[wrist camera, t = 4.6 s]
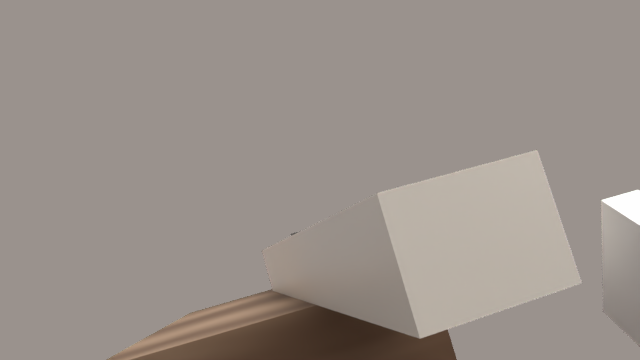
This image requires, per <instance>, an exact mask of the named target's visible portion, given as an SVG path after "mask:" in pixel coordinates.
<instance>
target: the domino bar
mask: <svg viewBox="0 0 640 360" xmlns="http://www.w3.org/2000/svg"><path fill="white" fill-rule="evenodd" d="M262 252H263V256H264V260H265V264H266V268H267V271H268V275H269V279H270V283H271V287H272V290H273V291H275V292H278V293H281V294H284V295H287V296H290V297H293V298H296V299H300V300H303V301H306V302H309V303H312V304H315V305H318V306H321V307H324V308H327V309H330V310H333V311H336V312H339V313H342V314H346V315H349V316H352V317H355V318H358V319H361V320H364V321H367V322H370V323H373V324H376V325H379V326H382V327H385V328H389V329H392V330H395V331H398V332H401V333H404V334H407V335H410V336H413V337H416V338H419V339H421V338H424V337H427V336H430V335H433V334H435V333H438V332H441V331H444V330H447V329H450V328H453V327H456V326H459V325H462V324H465V323H467V322H470V321H473V320H476V319H479V318H482V317H485V316H488V315H491V314H494V313H497V312H499V311H502V310H505V309H508V308H511V307H514V306H517V305H520V304H522V303H526V302H529V301H531V300H534V299H537V298H540V297H543V296H546V295H549V294H552V293H555V292H558V291H561V290H563V289H566V288H569V287H572V286H575V285H578V284H581V283H582V281H581V278H580V275H579V272H578V270H577V267H576V264H575V261H574V258H573V255H572V252H571V249H570V246H569V243H568V240H567V237H566V234H565V231H564V228H563V225H562V222H561V219H560V216H559V213H558V210H557V207H556V204H555V201H554V198H553V195H552V192H551V189H550V186H549V184H548V180H547V178H546V174H545V171H544V168H543V165H542V163H541V160H540V157H539V154H538V151H537V150H535V151H531V152H527V153H524V154H520V155H516V156H513V157H509V158H506V159H502V160H498V161H494V162H490V163H487V164H483V165H480V166H476V167H472V168H468V169H464V170H461V171H457V172H453V173H450V174H446V175H442V176H439V177H435V178H431V179H427V180H424V181H420V182H416V183H413V184H409V185H405V186H402V187H398V188H394V189H390V190H387V191H383V192H379V193H376V194H374V195H372V196H370V197H368V198H366V199H364V200H362V201H360V202H358V203H356V204H354V205H352V206H350V207H348V208H346V209H344V210H342V211H340V212H338V213H336V214H334V215H332V216H330V217H328V218H326V219H324V220H322V221H320V222H318V223H316V224H314V225H312V226H310V227H308V228H306V229H304V230H302V231H300V232H296V233H293V234H291V236H290V237H288V238H286V239H284V240H282V241H280V242H278V243H276V244H274V245H272V246H270V247H268V248H266V249H264V250H262Z"/></svg>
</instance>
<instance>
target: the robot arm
mask: <svg viewBox="0 0 640 360" xmlns="http://www.w3.org/2000/svg"><path fill="white" fill-rule="evenodd" d="M601 222H602V223H601V224H602V283H603V284H602V286H603V312H604V313H605V314H606V315H607V316H608V317H609V318H610V319H611V320H612V321H613V322H615V324H617V325H618V326H619V327H620V328H621V329H622V330H623V331H624V332H625V333H626V334H627V335H628V336H629V337H630V338H631V339H632V340H633V341H634V342H636V343H637V344H638V345H639V346H640V191H639V190H635V191H632V192H628V193H625V194H622V195H618V196H614V197H611V198H607V199H604V200H601Z"/></svg>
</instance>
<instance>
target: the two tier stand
mask: <svg viewBox="0 0 640 360" xmlns="http://www.w3.org/2000/svg"><path fill="white" fill-rule="evenodd" d="M107 360H457V359H456V356H455V353H454V349H453V347H452V343H451V339H450V336H449V333H448V330H444V331H441V332H438V333H435V334H433V335H430V336H427V337H424V338H421V339H419V338H416V337H413V336H410V335H407V334H404V333H401V332H398V331H395V330H392V329H389V328H385V327H382V326H379V325H376V324H373V323H370V322H367V321H364V320H361V319H358V318H355V317H352V316H349V315H346V314H342V313H339V312H336V311H333V310H330V309H327V308H324V307H321V306H318V305H315V304H312V303H309V302H306V301H303V300H300V299H296V298H293V297H290V296H287V295H284V294H281V293H278V292H275V291H273V290H272V289H271V290H268V291H265V292H261V293H258V294H254V295H251V296H247V297H244V298H240V299H237V300H233V301H230V302H227V303H223V304H220V305H216V306H213V307H209V308H206V309H202V310H199V311H195V312H192V313H189V314H188V315H186V316H184V317H182V318H180V319H179V320H177V321H175V322H173V323H171V324H170V325H168V326H166V327H164V328H162V329H161V330H159V331H157V332H155V333H154V334H152V335H150V336H148V337H146V338H144V339H143V340H141V341H139V342H137V343H136V344H134V345H132V346H130V347H128V348H127V349H125V350H123V351H121V352H120V353H118V354H116V355H114V356H112V357H111V358H109V359H107Z"/></svg>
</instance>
